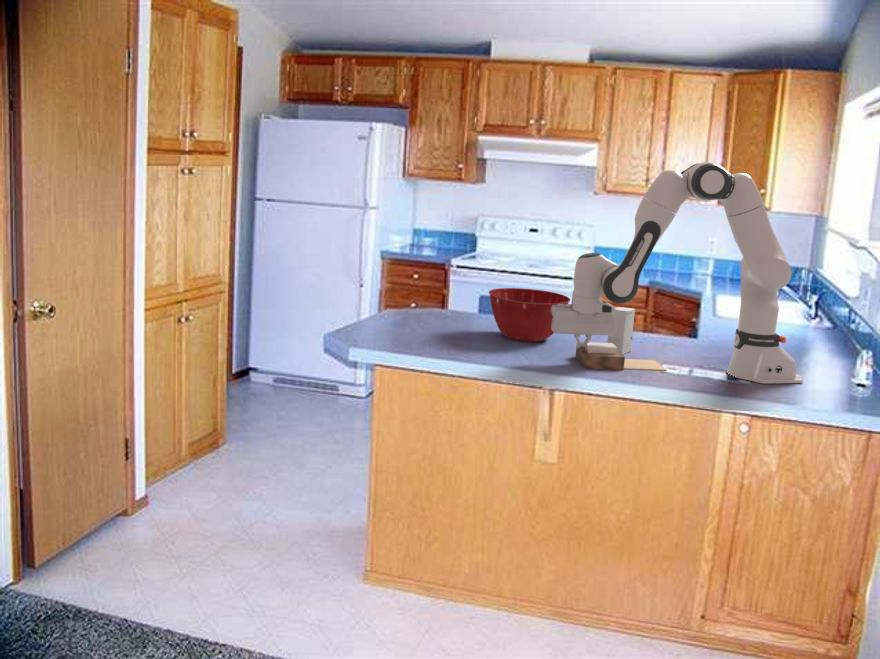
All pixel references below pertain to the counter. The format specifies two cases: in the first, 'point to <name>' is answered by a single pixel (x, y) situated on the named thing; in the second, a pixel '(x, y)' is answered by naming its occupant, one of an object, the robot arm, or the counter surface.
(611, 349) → the white rectangular prism
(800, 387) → the counter surface
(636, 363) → the mat
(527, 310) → the mixing bowl
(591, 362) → the brown box
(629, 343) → the skincare box
